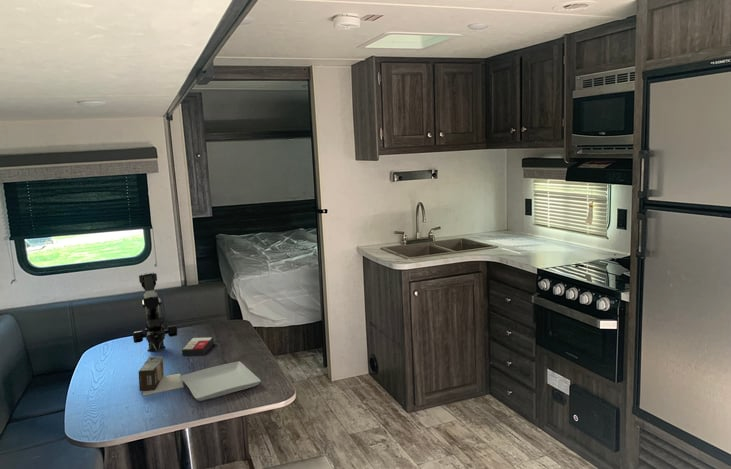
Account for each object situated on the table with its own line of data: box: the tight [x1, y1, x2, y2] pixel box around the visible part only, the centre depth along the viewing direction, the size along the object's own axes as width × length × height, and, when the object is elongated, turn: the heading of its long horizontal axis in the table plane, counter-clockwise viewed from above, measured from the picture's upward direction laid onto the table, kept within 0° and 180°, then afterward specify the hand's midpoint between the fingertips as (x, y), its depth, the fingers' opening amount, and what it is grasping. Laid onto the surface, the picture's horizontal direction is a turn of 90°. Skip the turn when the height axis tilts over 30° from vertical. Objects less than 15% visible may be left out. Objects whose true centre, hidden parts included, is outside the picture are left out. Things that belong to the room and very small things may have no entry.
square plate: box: [179, 361, 262, 402], centre depth 230 cm, size 27×27×4 cm
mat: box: [142, 372, 185, 397], centre depth 234 cm, size 16×16×1 cm
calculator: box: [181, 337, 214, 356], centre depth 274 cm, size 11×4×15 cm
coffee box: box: [138, 355, 165, 392], centre depth 234 cm, size 9×6×16 cm
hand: (157, 350), depth 243 cm, fingers closed
